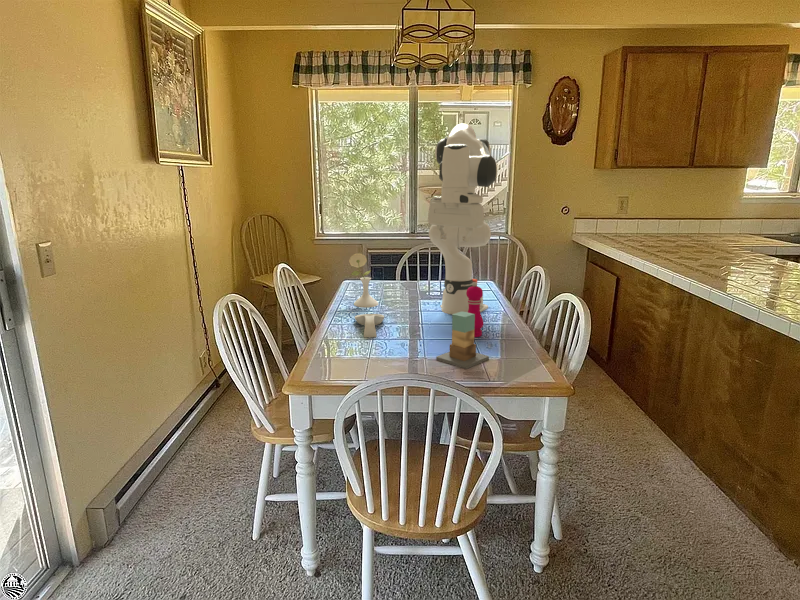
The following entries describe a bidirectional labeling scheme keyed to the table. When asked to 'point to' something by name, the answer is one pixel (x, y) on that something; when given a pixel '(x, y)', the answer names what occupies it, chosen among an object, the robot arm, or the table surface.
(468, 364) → the build board
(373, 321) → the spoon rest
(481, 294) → the pepper mill
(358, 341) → the table surface
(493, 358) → the table surface
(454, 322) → the block
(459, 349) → the base block
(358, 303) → the flower in vase
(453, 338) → the block
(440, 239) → the robot arm
